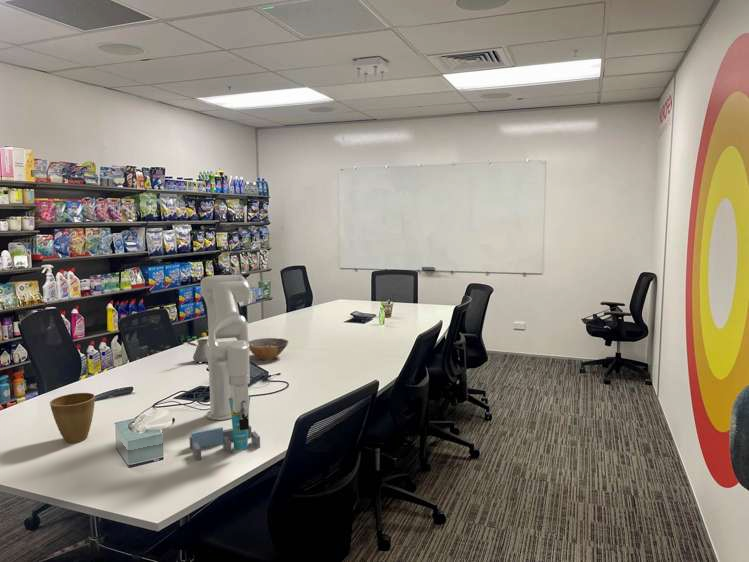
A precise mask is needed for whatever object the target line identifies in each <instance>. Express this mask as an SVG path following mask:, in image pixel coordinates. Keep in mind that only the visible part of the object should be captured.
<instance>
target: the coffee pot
mask: <svg viewBox="0 0 749 562" xmlns="http://www.w3.org/2000/svg"><path fill="white" fill-rule="evenodd" d="M196 341H197V344H196V343H193V342H189V341H186V342H185V344H184V345H186V344H187V345H186V346H189V345H191V346H194V347H196V349H195V352H194V353H193V355H192V356H193V357H192V359H193V360H194V361H195V362H196V363H197V362H208V361H207V356H206V349H207V347H208V346H209V345H208V338H200V339H197V340H196Z"/></svg>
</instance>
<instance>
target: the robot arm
mask: <svg viewBox="0 0 749 562" xmlns="http://www.w3.org/2000/svg"><path fill="white" fill-rule="evenodd" d="M200 290H201V295H202V298H203V299H204V302H205V305H206V309H207V310H206V311H207V326H208V336H207V339H208V342H207V344H208V347H207V349H206V356H207V361H208V363H207V365H208V376H209V379H208V380H209V402H210V403H209V405H210V407H209V408H210V410H209V411H208V412H207V413H206V418H207V419H209V420H213V421H224V420H229V419H232V417H231V408H230V402H229V398H232V410H233V411H234V412H235V413H238V412H239V415H240V419H239V425H240V430H246V429H249V425H250V421H249V419H250V418H249V417H250V413H249V414H248V410H249V411H250V404H249V396H250V395H249V386H248V385H249V384H250V383H251V377H250V376H251V375H250V373H251V372H250V352H251V351H250V349H249V342H248V341H249V331H248V330H249V327H248V322H247V319H246V318H245V316H244V315H241V314H240V311H239V306H238V303H243V302H244V303H245V302H246V303H247V302H249V300H250V299H251V296H252V291H251V287H250V284H249V281H248V280H247V279H246V278H245V277H244V276H243V275H241V274H220V275H219V274H217V275H209V276H205V277H203V278H201V280H200ZM223 339H236V340H228V341H219V342H218V341H217V340H223ZM240 410H241V411H240ZM242 413H243V414H242ZM248 415H249V416H248Z"/></svg>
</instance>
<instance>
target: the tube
mask: <svg viewBox="0 0 749 562" xmlns="http://www.w3.org/2000/svg"><path fill="white" fill-rule="evenodd" d="M250 400H251V396H250V395H249V405H250V402H251V401H250ZM229 402H230V408H231V417H232V418H231V424H232V425H231V427H232V428H233V441H232V443H233V449H234V450H236V451H244V450H246V449H248V443H249V442H248V441H249V438H248V429H246V430H240V425H239V419H240V415H239V412H238V413H235V412H234V411H233V410H232V398H229ZM240 411H241V410H240ZM242 414H243V413H242ZM248 414H249V415H248V416H249V417H250V409H249V410H248ZM232 428H231V429H232Z"/></svg>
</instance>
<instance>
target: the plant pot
mask: <svg viewBox="0 0 749 562" xmlns="http://www.w3.org/2000/svg"><path fill="white" fill-rule="evenodd" d="M95 399H96V395H95V394H94V393H91V392H76V393H69V394H65V395H61V396H58V397H55V398H53V399H51V400H50V402H49V406H50V409H51V412H52V416H53V419H54V422H55V424H56V426H57V430H58V432H59V433H60V436H61V437H62V439H63V441H64V442H65V443H67V444H76V443H81V442H83V441H85V440H87V439H88V436H89V432H90V429H91V425H92V421H93V417H94V416H93V415H94V410H95V401H96V400H95Z"/></svg>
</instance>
